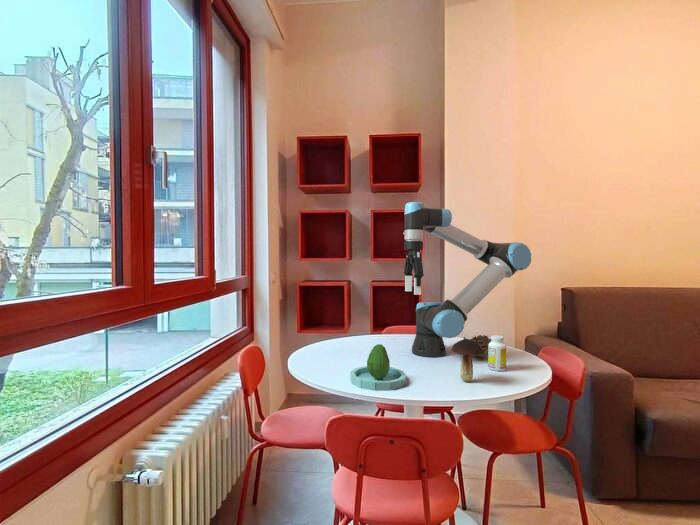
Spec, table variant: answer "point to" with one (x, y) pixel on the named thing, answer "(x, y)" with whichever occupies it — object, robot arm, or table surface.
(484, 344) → the pine cone
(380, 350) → the avocado
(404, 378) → the dish
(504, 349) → the supplement bottle
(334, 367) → the table surface
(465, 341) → the decorative mushroom
